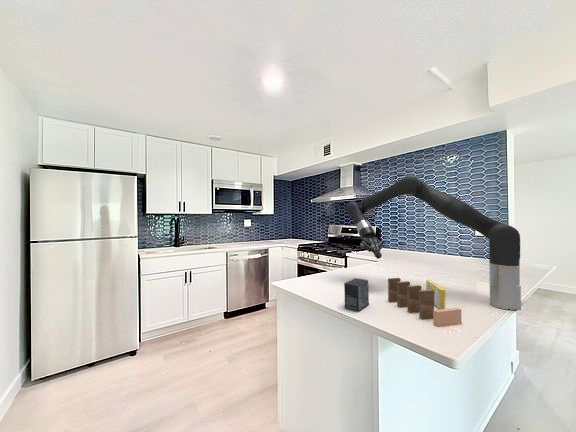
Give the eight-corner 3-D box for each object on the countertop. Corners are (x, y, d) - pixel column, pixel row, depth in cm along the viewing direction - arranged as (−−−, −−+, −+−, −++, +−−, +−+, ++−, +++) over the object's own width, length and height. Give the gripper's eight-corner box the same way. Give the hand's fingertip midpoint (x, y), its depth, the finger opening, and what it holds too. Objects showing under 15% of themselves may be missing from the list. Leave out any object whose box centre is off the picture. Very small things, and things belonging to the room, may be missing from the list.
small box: (354, 301, 107) (354, 277, 107) (369, 304, 102) (369, 279, 103) (343, 308, 98) (343, 282, 98) (359, 312, 94) (358, 285, 94)
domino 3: (407, 311, 95) (407, 285, 95) (418, 310, 96) (418, 284, 96) (410, 313, 93) (410, 286, 93) (421, 311, 94) (421, 286, 94)
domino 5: (433, 310, 83) (457, 307, 86) (433, 325, 83) (457, 322, 85) (437, 312, 82) (461, 309, 84) (437, 327, 82) (461, 323, 84)
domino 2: (397, 306, 101) (396, 281, 101) (407, 305, 102) (407, 281, 102) (399, 307, 99) (399, 282, 99) (410, 306, 100) (410, 282, 100)
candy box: (445, 311, 95) (445, 289, 95) (439, 310, 96) (439, 289, 96) (430, 297, 111) (430, 279, 111) (425, 297, 112) (425, 279, 112)
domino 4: (419, 317, 89) (419, 290, 89) (430, 316, 90) (430, 289, 90) (422, 319, 87) (422, 291, 87) (434, 318, 88) (434, 290, 89)
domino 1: (388, 301, 106) (388, 278, 106) (398, 300, 108) (397, 277, 108) (390, 302, 105) (390, 279, 105) (400, 301, 106) (400, 278, 106)
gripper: (356, 226, 125) (370, 253, 113) (379, 225, 128) (395, 252, 116) (351, 235, 130) (364, 262, 118) (373, 235, 133) (388, 261, 121)
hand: (379, 257), depth 117 cm, fingers closed
